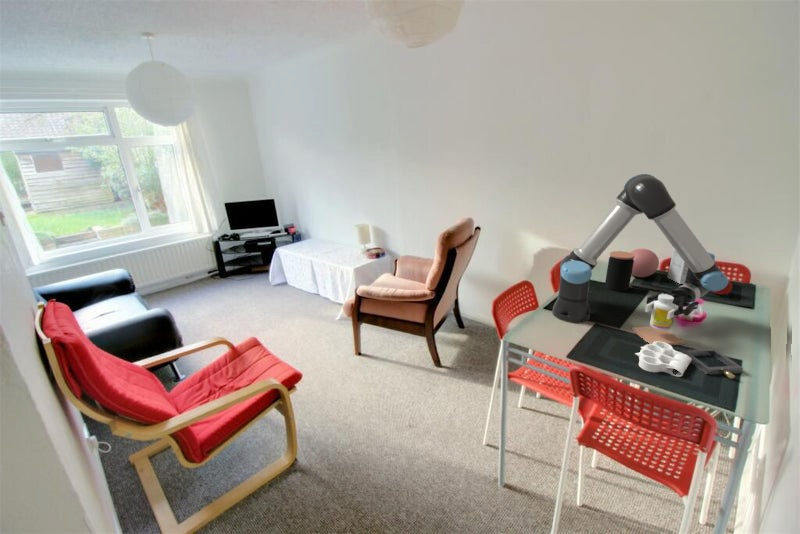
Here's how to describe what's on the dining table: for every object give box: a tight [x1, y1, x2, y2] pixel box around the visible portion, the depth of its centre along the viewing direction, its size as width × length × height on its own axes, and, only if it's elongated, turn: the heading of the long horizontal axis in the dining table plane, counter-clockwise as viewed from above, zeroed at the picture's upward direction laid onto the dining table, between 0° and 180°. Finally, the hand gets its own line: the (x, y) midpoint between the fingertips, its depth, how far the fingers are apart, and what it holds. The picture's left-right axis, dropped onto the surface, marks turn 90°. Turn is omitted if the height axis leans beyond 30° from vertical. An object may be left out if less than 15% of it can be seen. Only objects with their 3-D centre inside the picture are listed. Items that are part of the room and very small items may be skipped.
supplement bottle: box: [649, 293, 676, 331], centre depth 137 cm, size 7×7×13 cm
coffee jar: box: [604, 250, 635, 292], centre depth 181 cm, size 11×11×18 cm
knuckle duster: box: [634, 341, 692, 377], centre depth 126 cm, size 3×18×15 cm
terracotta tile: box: [631, 326, 685, 346], centre depth 140 cm, size 12×12×1 cm
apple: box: [711, 280, 733, 295], centre depth 170 cm, size 8×8×8 cm
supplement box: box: [667, 248, 688, 285], centre depth 185 cm, size 10×9×17 cm
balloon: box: [629, 248, 660, 278], centre depth 196 cm, size 15×20×15 cm
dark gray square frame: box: [680, 348, 744, 380], centre depth 122 cm, size 11×14×2 cm
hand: (657, 312), depth 134 cm, fingers closed on supplement bottle, 7 cm apart
